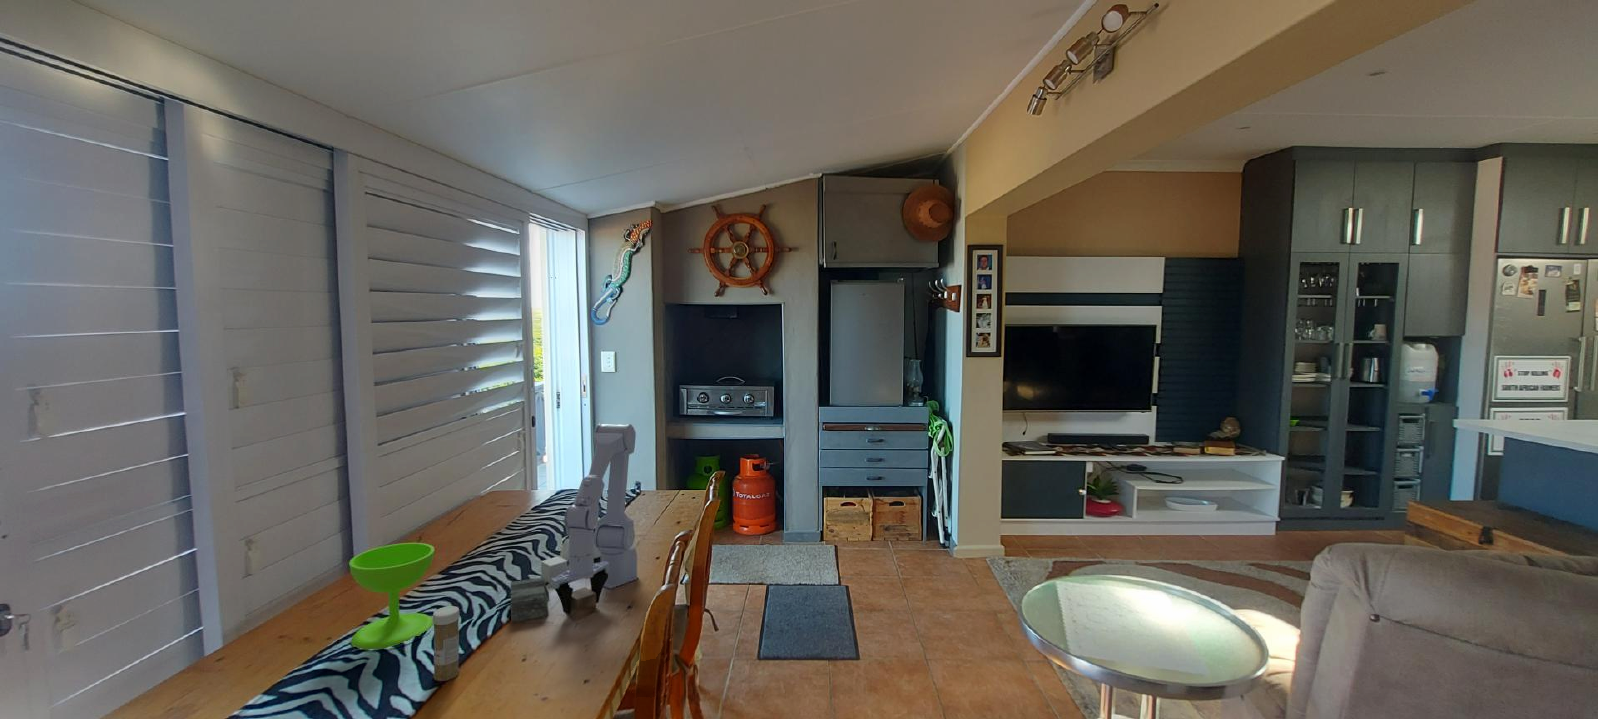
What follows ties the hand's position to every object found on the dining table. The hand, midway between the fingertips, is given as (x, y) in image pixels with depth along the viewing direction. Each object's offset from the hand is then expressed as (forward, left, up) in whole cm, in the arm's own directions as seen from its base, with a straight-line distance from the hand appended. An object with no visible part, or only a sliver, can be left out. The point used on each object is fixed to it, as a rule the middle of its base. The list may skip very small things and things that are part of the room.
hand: (581, 607), depth 147 cm
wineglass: (+33, -23, -2) cm, 40 cm away
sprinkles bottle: (+32, +4, -2) cm, 32 cm away
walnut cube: (0, 0, -2) cm, 2 cm away
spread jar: (-18, -30, -2) cm, 35 cm away
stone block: (+7, -12, -2) cm, 14 cm away
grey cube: (-6, -24, -2) cm, 25 cm away
